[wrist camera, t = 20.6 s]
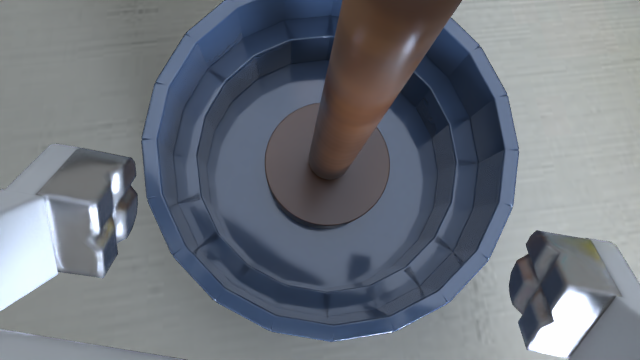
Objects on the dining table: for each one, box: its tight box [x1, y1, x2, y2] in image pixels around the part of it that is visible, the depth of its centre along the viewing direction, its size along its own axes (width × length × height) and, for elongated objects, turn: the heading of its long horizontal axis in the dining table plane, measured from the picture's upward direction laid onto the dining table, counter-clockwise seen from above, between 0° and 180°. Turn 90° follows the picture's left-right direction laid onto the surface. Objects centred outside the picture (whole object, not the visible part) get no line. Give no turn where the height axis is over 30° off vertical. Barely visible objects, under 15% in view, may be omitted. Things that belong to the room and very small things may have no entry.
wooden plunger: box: [265, 0, 462, 229], centre depth 14 cm, size 6×6×21 cm
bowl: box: [141, 0, 519, 342], centre depth 22 cm, size 14×14×6 cm
